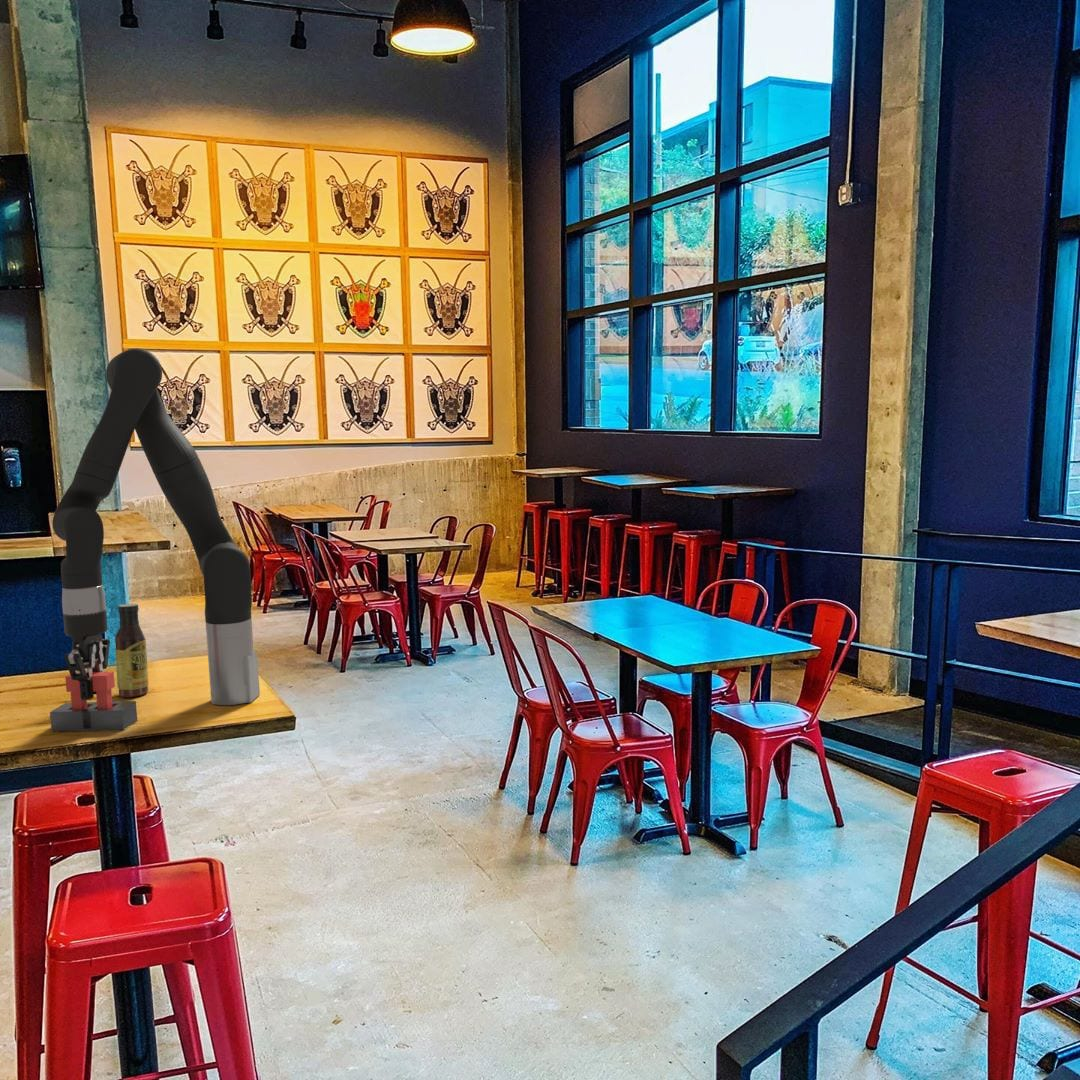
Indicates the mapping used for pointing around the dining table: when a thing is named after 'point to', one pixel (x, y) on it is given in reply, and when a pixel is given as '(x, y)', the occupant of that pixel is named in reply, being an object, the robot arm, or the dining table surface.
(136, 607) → the sauce bottle
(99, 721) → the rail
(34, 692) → the dining table surface
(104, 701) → the red block
